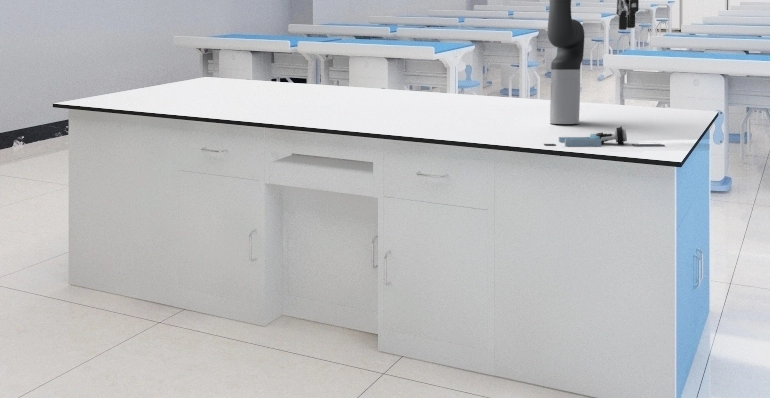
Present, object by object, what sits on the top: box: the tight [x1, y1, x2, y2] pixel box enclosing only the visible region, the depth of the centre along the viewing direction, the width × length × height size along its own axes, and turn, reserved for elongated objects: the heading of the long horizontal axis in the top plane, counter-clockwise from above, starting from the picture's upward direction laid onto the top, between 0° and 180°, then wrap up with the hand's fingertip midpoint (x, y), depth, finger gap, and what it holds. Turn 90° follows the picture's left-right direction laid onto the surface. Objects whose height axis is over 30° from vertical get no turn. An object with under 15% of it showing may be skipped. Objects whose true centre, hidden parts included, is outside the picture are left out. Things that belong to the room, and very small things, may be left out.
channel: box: [557, 136, 602, 147], centre depth 265 cm, size 10×10×2 cm
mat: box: [631, 143, 665, 147], centre depth 263 cm, size 8×8×1 cm
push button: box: [589, 125, 628, 146], centre depth 264 cm, size 7×5×10 cm
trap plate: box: [543, 143, 557, 146], centre depth 266 cm, size 5×3×1 cm, turn 1°
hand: (626, 28), depth 270 cm, fingers open, 8 cm apart
